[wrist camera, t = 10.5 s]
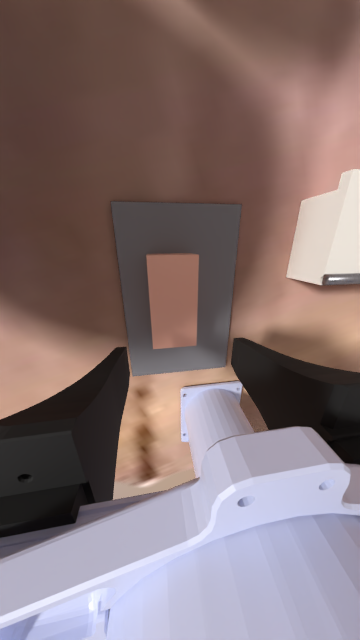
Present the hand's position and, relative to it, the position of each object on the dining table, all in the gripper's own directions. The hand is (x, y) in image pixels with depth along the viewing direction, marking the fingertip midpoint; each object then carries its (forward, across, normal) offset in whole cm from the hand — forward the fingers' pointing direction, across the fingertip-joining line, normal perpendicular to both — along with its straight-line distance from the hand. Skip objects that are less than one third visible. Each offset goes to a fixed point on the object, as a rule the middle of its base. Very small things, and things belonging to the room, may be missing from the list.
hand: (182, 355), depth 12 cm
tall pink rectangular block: (+7, 0, -2) cm, 8 cm away
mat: (+8, -1, -2) cm, 8 cm away
